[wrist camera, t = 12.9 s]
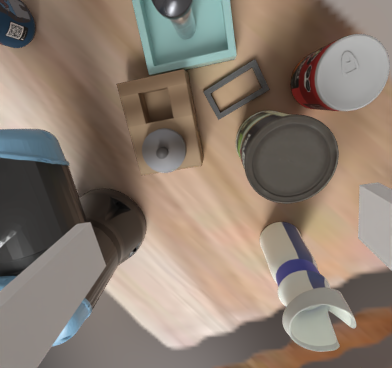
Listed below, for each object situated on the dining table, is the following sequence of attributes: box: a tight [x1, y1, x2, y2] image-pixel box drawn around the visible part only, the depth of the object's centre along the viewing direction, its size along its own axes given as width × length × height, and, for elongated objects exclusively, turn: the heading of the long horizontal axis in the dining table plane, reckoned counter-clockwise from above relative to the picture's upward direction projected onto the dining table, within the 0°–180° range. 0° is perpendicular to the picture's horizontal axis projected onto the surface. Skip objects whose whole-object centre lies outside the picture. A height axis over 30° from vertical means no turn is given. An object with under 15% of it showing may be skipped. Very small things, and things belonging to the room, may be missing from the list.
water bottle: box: [260, 222, 356, 351], centre depth 34 cm, size 8×9×25 cm
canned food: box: [291, 34, 390, 111], centre depth 32 cm, size 8×8×11 cm
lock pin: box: [152, 0, 196, 39], centre depth 30 cm, size 4×4×12 cm
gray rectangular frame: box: [204, 59, 270, 120], centre depth 38 cm, size 9×5×1 cm, turn 121°
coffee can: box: [236, 111, 339, 203], centre depth 34 cm, size 10×10×14 cm
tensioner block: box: [117, 69, 203, 176], centre depth 37 cm, size 14×10×8 cm
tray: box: [132, 0, 237, 76], centre depth 34 cm, size 13×11×3 cm
